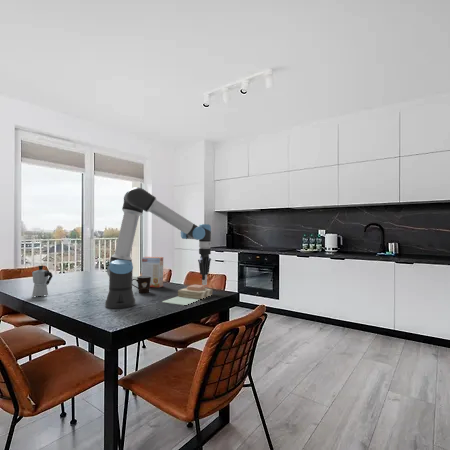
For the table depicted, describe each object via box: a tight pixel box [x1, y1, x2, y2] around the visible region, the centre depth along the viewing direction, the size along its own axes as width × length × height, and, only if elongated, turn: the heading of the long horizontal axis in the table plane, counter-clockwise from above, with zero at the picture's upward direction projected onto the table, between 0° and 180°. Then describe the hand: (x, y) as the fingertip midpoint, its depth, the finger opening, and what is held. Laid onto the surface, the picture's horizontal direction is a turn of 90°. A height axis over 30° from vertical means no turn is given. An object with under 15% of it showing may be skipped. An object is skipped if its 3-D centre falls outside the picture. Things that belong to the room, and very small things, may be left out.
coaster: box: [186, 284, 206, 291], centre depth 184 cm, size 8×8×2 cm
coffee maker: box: [31, 265, 53, 297], centre depth 179 cm, size 15×9×18 cm, turn 73°
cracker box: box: [141, 256, 164, 288], centre depth 213 cm, size 14×6×21 cm, turn 74°
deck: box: [177, 287, 213, 300], centre depth 183 cm, size 14×16×4 cm
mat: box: [161, 295, 201, 306], centre depth 170 cm, size 15×16×1 cm
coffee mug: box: [132, 275, 151, 294], centre depth 193 cm, size 12×9×10 cm
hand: (204, 284), depth 193 cm, fingers closed
